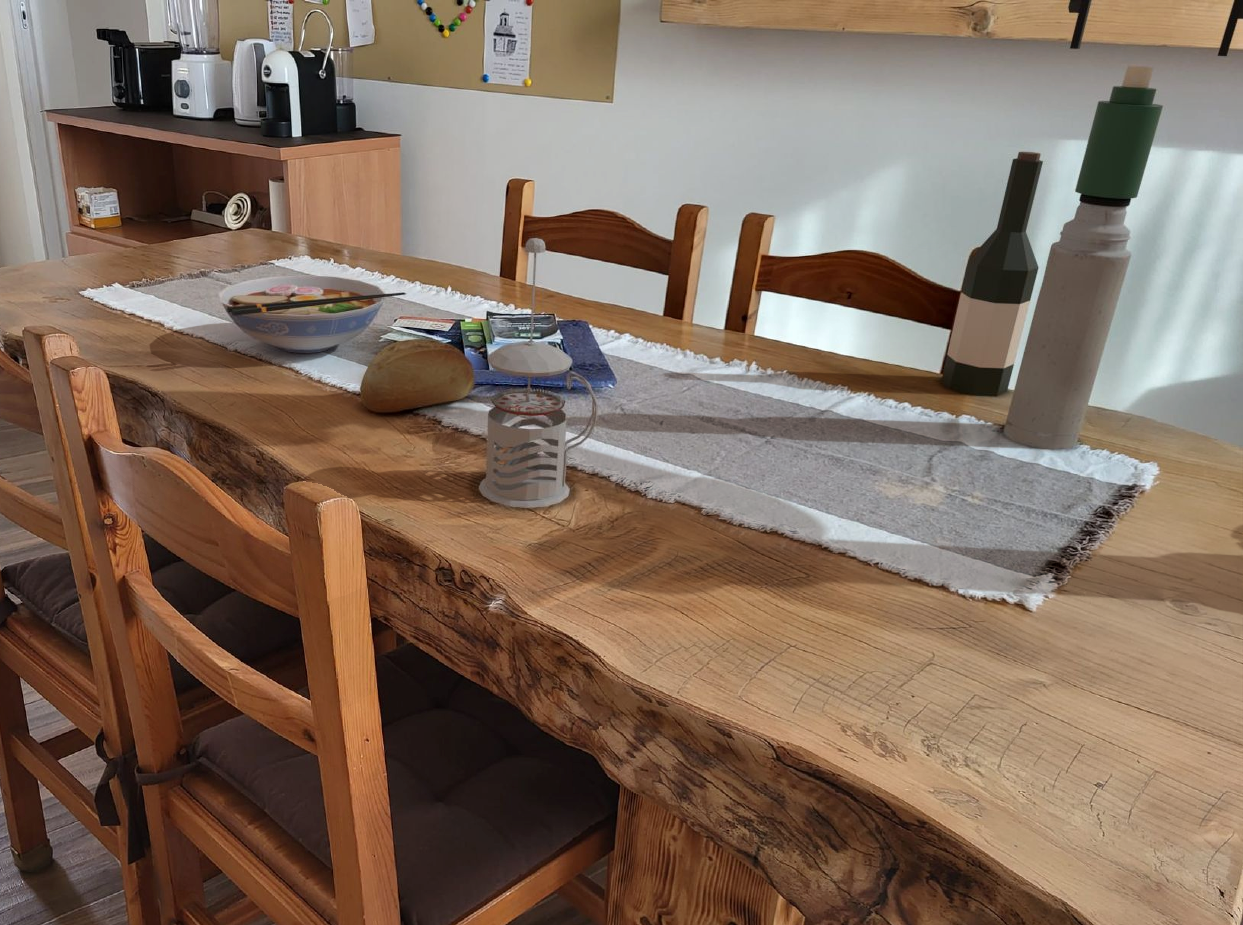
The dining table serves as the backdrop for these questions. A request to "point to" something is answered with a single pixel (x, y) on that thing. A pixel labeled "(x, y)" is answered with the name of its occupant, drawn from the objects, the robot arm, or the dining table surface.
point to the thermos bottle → (1070, 325)
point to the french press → (529, 423)
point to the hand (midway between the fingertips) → (1146, 52)
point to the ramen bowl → (303, 310)
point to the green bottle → (1121, 138)
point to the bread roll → (416, 376)
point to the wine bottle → (996, 293)
